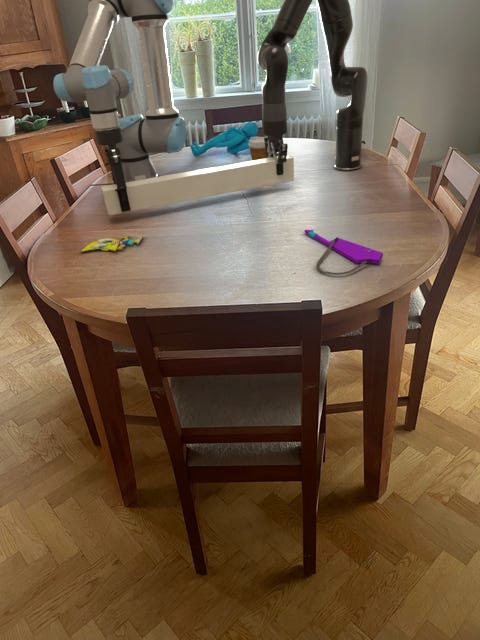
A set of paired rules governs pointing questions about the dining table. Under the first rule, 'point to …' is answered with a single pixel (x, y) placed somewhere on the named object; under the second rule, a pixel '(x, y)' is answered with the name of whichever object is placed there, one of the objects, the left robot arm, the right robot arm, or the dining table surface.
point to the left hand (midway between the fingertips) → (124, 207)
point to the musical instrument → (347, 252)
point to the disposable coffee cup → (257, 148)
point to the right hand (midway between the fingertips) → (276, 172)
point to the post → (198, 184)
